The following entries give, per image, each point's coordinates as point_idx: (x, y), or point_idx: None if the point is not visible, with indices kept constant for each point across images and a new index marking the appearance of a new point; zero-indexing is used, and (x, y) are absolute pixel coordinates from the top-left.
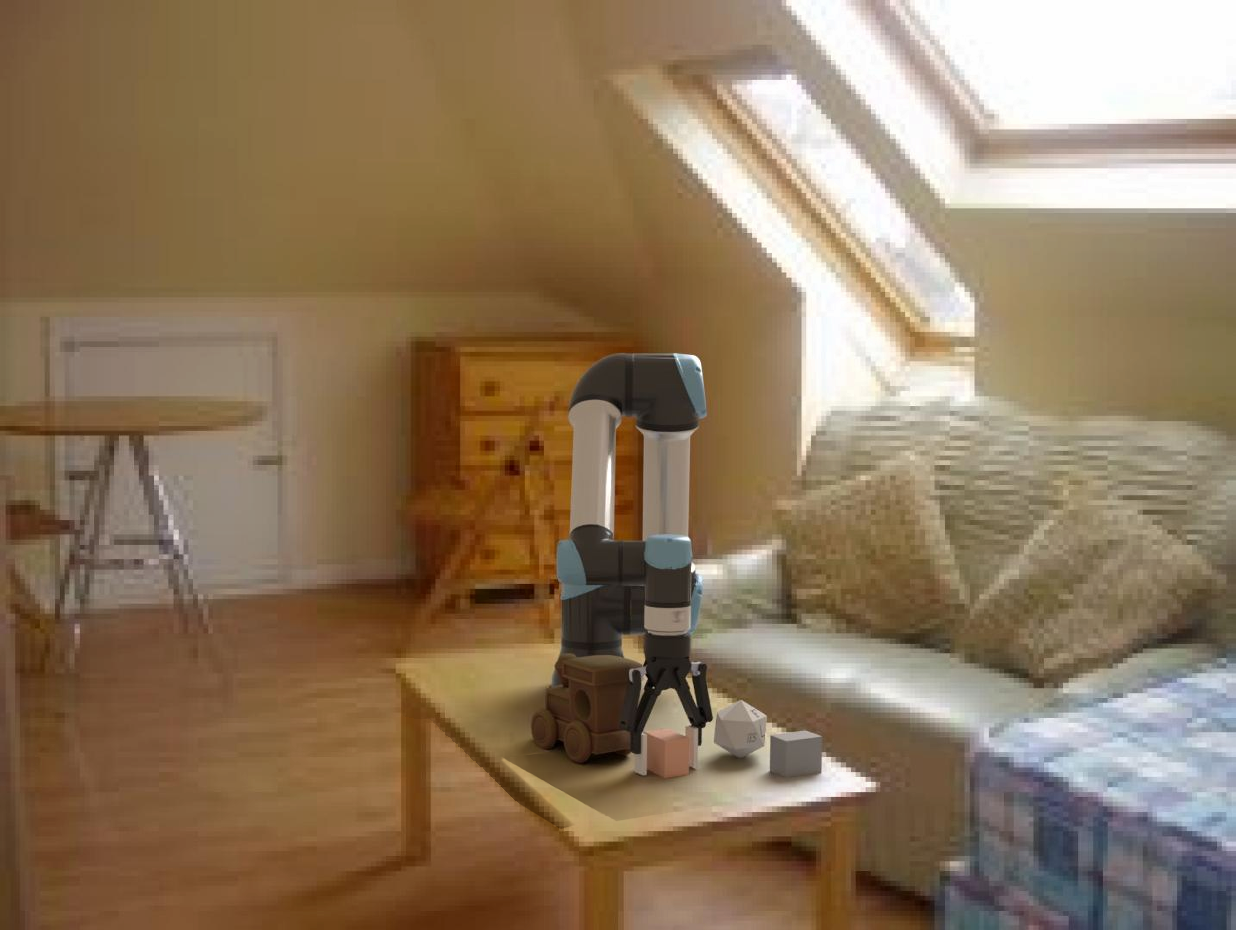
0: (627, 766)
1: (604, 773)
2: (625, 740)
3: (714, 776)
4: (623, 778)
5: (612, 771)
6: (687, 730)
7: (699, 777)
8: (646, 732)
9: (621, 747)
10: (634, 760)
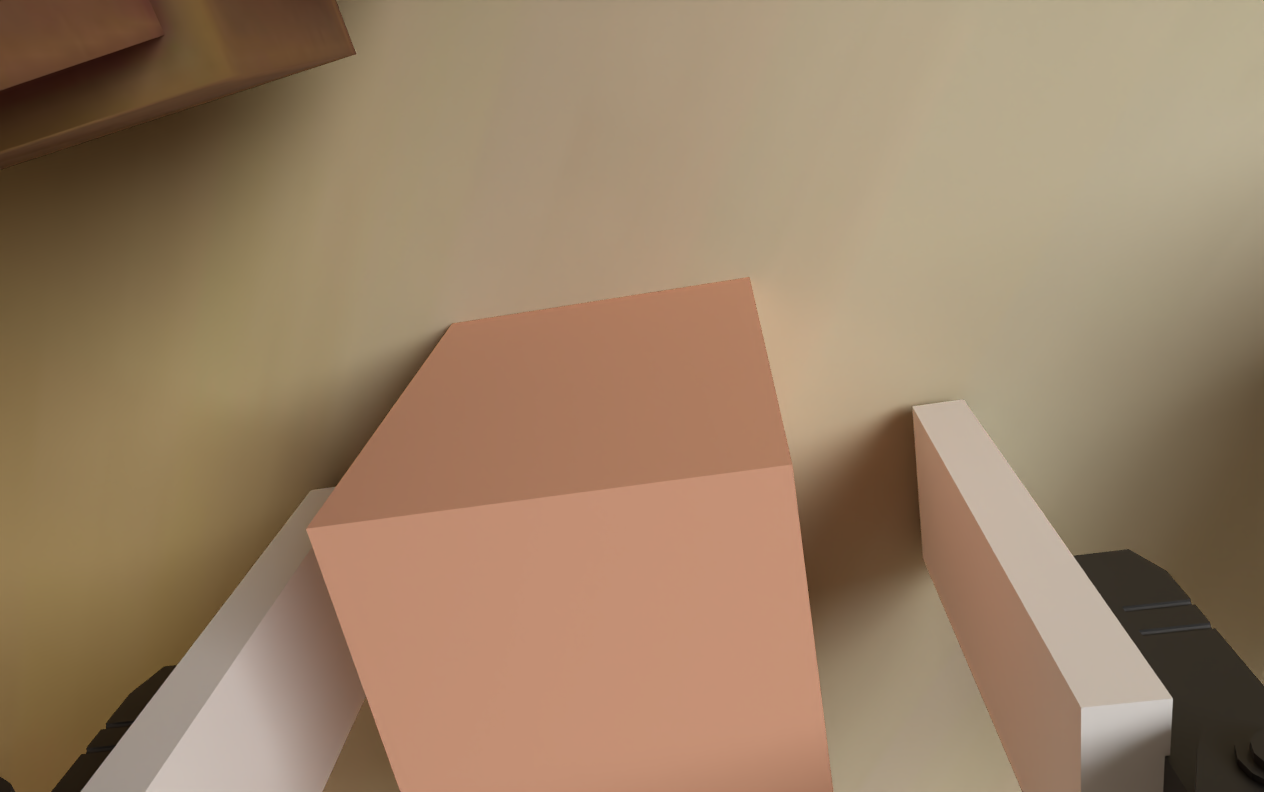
0: (296, 233)
1: (23, 410)
2: (158, 110)
3: (987, 769)
4: (185, 603)
5: (109, 368)
6: (1054, 707)
7: (847, 757)
8: (347, 592)
9: (144, 121)
10: (265, 550)
